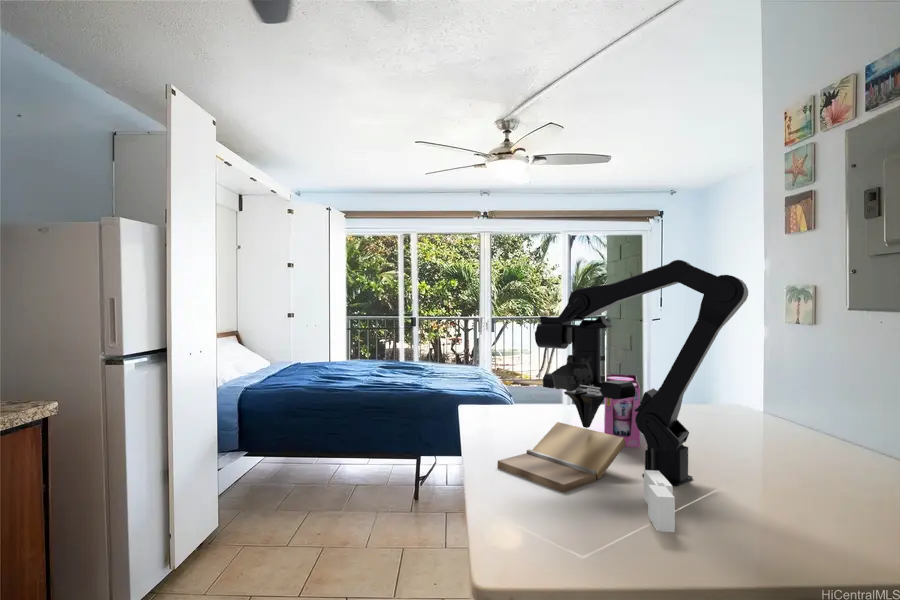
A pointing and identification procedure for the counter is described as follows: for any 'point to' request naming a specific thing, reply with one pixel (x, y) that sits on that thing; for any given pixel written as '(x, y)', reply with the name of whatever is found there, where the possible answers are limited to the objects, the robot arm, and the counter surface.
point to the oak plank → (581, 446)
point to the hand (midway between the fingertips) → (586, 427)
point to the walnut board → (548, 470)
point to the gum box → (623, 413)
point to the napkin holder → (659, 501)
